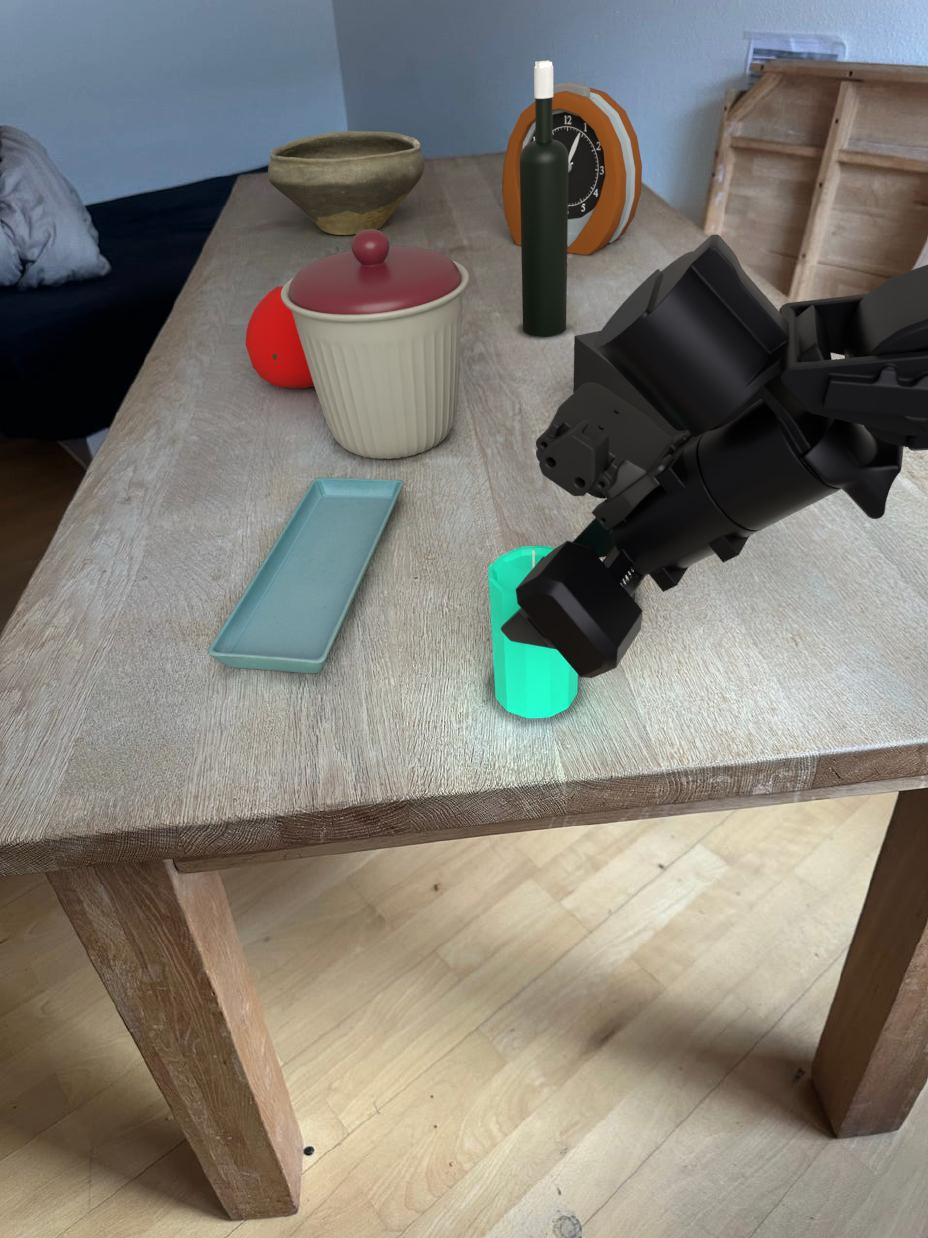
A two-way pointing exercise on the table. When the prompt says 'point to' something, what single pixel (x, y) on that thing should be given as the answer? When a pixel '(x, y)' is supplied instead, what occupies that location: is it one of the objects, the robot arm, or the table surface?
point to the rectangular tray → (308, 578)
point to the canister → (382, 343)
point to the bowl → (347, 177)
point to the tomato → (277, 344)
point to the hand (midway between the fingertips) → (540, 591)
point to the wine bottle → (544, 218)
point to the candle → (525, 646)
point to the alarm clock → (583, 166)
